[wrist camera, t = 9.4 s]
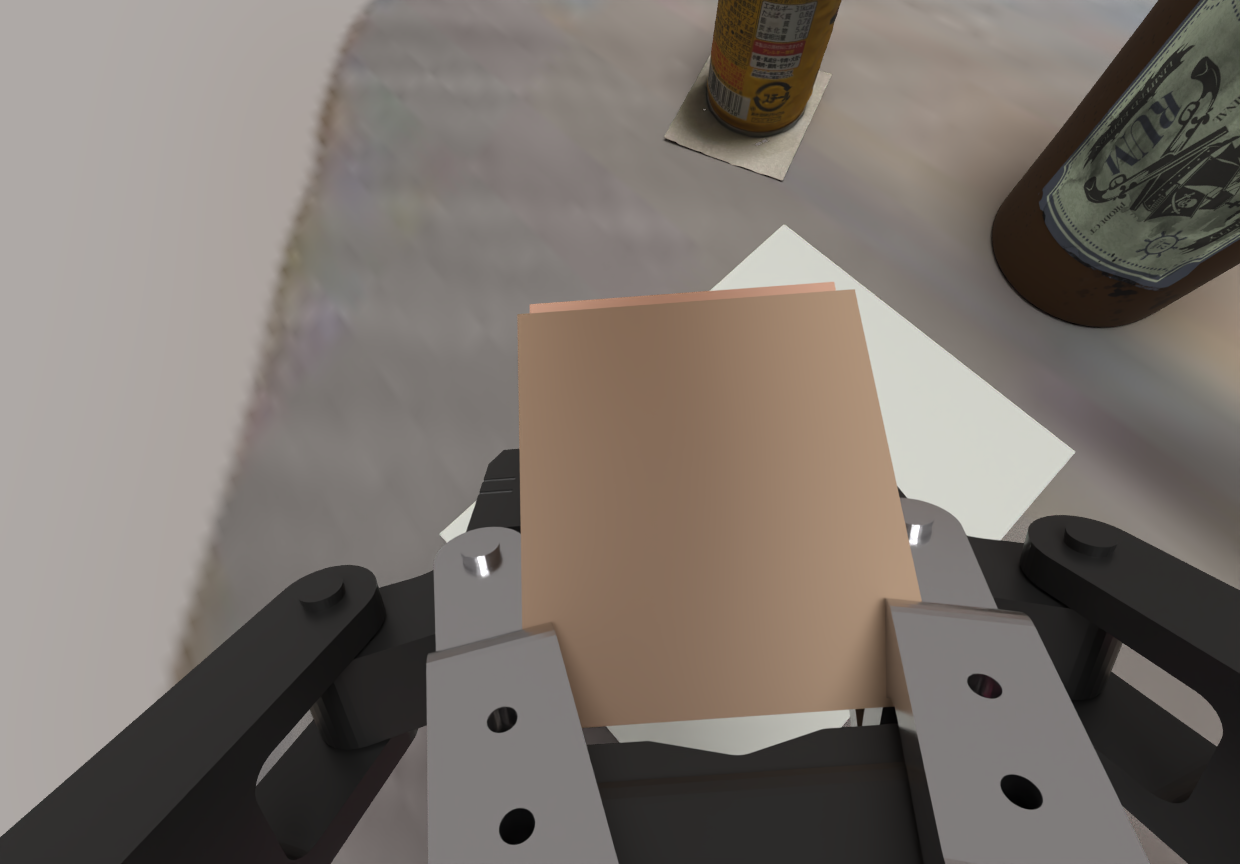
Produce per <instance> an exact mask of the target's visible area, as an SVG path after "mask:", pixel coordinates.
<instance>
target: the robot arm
mask: <svg viewBox="0 0 1240 864" xmlns="http://www.w3.org/2000/svg"><path fill="white" fill-rule="evenodd" d="M897 488H898V493H899V497H900V502H901V507H902V511H903V516H904V521H905V525H906V530H907V535H908V539H909V544H910V548H911V553H912V558H913V562H914V567H915V572H916V576H917V581H918V586H919V590H920V595H921V600H922V601H912V600H902V599H892V598H885V657H886V698H889V699H892V701H893V703H894V707H879V708H864V709H850V710H849V712H850V721H851V727H841V728H826V729H821V730H818V731H815V732H812V733H809V734H806V735H803V736H800V737H797V738H794V739H791V740H788V741H785V742H782V743H779V744H776V745H773V746H770V747H767V748H764V749H761V750H758V751H755V752H752V753H749V754H745V755H730V754H724V753H718V752H712V751H706V750H700V749H694V748H688V747H682V746H676V745H670V744H664V743H658V742H653V741H639V742H624V743H610V744H595V745H586V742H585V739H584V735H583V731H582V728H581V724H580V720H579V717H578V713H577V709H576V706H575V702H574V698H573V695H572V691H571V687H570V684H569V680H568V676H567V673H566V669H565V665H564V662H563V658H562V654H561V651H560V647H559V643H558V640H557V636H556V632H555V629H554V626H553V623H552V622H548V623H544V624H540V625H536V626H532V627H528V628H525V629H522V582H521V515H520V449H512V450H503V451H502V452H501V453H500V454H499V455H498V456H497V457H496V458H495V459H494V460H493V461H492V462H491V463H489V465H488V468H487V471H486V474H485V477H484V482H483V483H482V486H481V489H480V495H478V498H477V501H476V504H475V507H474V510H473V513H472V516H471V518H470V521H469V524H468V527H467V530H466V532H465V533H463V534H461V535H459V536H457V537H455V538H453V539H452V540H450V541H449V542H447V543H446V544H445V545H444V546H443V547H442V548H441V549H440V550H439V552H438V553H437V555H436V557H435V559H434V570H433V571H431V572H429V573H426V574H424V575H421V576H418V577H415V578H412V579H409V580H405V581H402V582H398V583H395V584H391V585H388V586H384V587H381V588H379V587H378V584H377V581H376V577H375V576H374V574H373V573H372V572H371V571H370V570H368V569H366V568H364V567H360V566H354V565H341V566H334V567H329V568H325V569H322V570H319V571H316V572H314V573H311V574H309V575H307V576H305V577H303V578H301V579H299V580H297V581H296V582H294V583H293V584H291V585H290V586H289V587H287V588H286V589H285V590H284V591H282V592H281V593H280V594H279V595H278V596H277V597H276V598H274V599H273V600H272V601H271V602H270V603H269V604H268V605H266V606H265V607H264V608H263V609H262V610H261V611H260V612H258V613H257V614H256V615H255V616H254V617H253V618H251V619H250V620H249V621H248V622H247V623H246V624H245V625H243V626H242V627H241V628H240V629H239V630H238V631H237V632H235V633H234V634H233V635H232V636H231V637H230V638H229V639H227V640H226V641H225V642H224V643H223V644H222V645H220V646H219V647H218V648H217V649H216V650H215V651H214V652H212V653H211V654H210V655H209V656H208V657H207V658H206V659H204V660H203V661H202V662H201V663H200V664H199V665H198V666H196V667H195V668H194V669H193V670H192V671H191V672H189V673H188V674H187V675H186V676H185V677H184V678H183V679H181V680H180V681H179V682H178V683H177V684H176V685H175V686H173V687H172V688H171V689H170V690H169V691H168V692H167V693H165V694H164V695H163V696H162V697H161V698H160V699H158V700H157V701H156V702H155V703H154V704H153V705H152V706H151V707H149V708H148V709H147V710H146V711H145V712H144V713H142V714H141V715H140V716H139V717H138V718H137V719H136V720H134V721H133V722H132V723H131V724H130V725H129V726H128V727H126V728H125V729H124V730H123V731H122V732H121V733H119V734H118V735H117V736H116V737H115V738H114V739H113V740H111V741H110V742H109V743H108V744H107V745H106V746H105V747H104V748H102V749H101V750H100V751H99V752H98V753H96V754H95V755H94V756H93V757H92V758H91V759H90V760H89V761H88V762H86V763H85V764H84V765H83V766H82V767H80V768H79V769H78V770H77V771H76V772H75V773H74V774H72V775H71V776H70V777H69V778H68V779H67V780H65V781H64V782H63V783H62V784H61V785H60V786H59V787H58V788H56V789H55V790H54V791H53V792H52V793H51V794H49V795H48V796H47V797H46V798H45V799H44V800H43V801H41V802H40V803H39V804H38V805H37V806H36V807H34V808H33V809H32V810H31V811H30V812H29V813H28V814H26V815H25V816H24V817H23V818H22V819H21V820H20V821H18V822H17V823H16V824H15V825H14V826H13V827H12V828H10V830H8V831H7V832H6V833H5V834H3V835H2V836H1V837H0V864H331V862H332V861H333V859H334V858H335V856H336V855H337V853H338V852H339V850H340V849H341V847H342V846H343V844H344V843H345V841H346V840H347V838H348V837H349V835H350V834H351V832H352V831H353V829H354V828H355V826H356V825H357V823H358V822H359V820H360V819H361V817H362V816H363V814H364V813H365V811H366V810H367V808H368V807H369V805H370V804H371V802H372V801H373V799H374V798H375V796H376V795H377V794H378V792H379V791H380V789H381V788H382V786H383V785H384V783H385V782H386V780H387V779H388V777H389V776H390V774H391V773H392V771H393V770H394V768H395V767H396V765H397V764H398V762H399V761H400V759H401V758H402V756H403V755H404V753H405V752H406V750H407V749H408V747H409V746H410V744H411V743H412V741H413V739H414V738H415V736H416V733H417V730H418V728H420V727H423V726H426V725H427V792H428V864H1150V862H1149V860H1148V858H1147V856H1146V854H1145V852H1144V850H1143V848H1142V846H1141V844H1140V842H1139V840H1138V837H1137V835H1136V833H1135V831H1134V829H1133V827H1132V825H1131V823H1130V821H1129V819H1128V817H1127V815H1126V813H1125V811H1124V809H1123V807H1124V808H1125V809H1127V810H1128V811H1129V812H1130V813H1131V814H1132V815H1133V816H1135V817H1136V818H1137V819H1138V820H1139V821H1140V822H1141V823H1143V824H1144V825H1145V826H1146V827H1147V828H1148V829H1149V830H1151V831H1152V832H1153V833H1154V834H1155V835H1156V836H1157V837H1158V838H1160V839H1161V840H1162V841H1163V842H1164V843H1165V844H1166V845H1168V846H1169V847H1170V848H1171V849H1172V850H1173V851H1174V852H1176V853H1177V854H1178V855H1179V856H1180V857H1181V858H1182V859H1184V860H1185V861H1186V862H1187V863H1188V864H1240V590H1238V589H1236V588H1234V587H1232V586H1230V585H1228V584H1226V583H1224V582H1222V581H1220V580H1218V579H1216V578H1215V577H1213V576H1211V575H1209V574H1207V573H1205V572H1203V571H1201V570H1199V569H1197V568H1195V567H1193V566H1191V565H1189V564H1187V563H1185V562H1183V561H1181V560H1179V559H1177V558H1175V557H1174V556H1172V555H1170V554H1168V553H1166V552H1164V551H1162V550H1160V549H1158V548H1156V547H1154V546H1152V545H1150V544H1148V543H1146V542H1144V541H1142V540H1140V539H1138V538H1136V537H1134V536H1133V535H1131V534H1129V533H1127V532H1125V531H1123V530H1120V529H1118V528H1116V527H1114V526H1111V525H1109V524H1106V523H1103V522H1100V521H1096V520H1092V519H1088V518H1083V517H1077V516H1067V515H1054V516H1047V517H1043V518H1040V519H1037V520H1035V521H1034V522H1033V523H1031V525H1030V526H1029V528H1028V532H1027V535H1026V539H1025V542H1024V543H1017V542H1009V541H1001V540H992V539H984V538H977V537H971V536H967V535H966V533H965V531H964V529H963V527H962V525H961V523H960V522H959V521H958V520H957V518H956V517H954V516H953V515H952V514H951V513H949V512H948V511H946V510H944V509H942V508H940V507H938V506H936V505H933V504H931V503H928V502H924V501H921V500H916V499H910V498H907V497H906V496H905V495H904V493H903V492H902V491H901V490H900V488H899V487H898V486H897ZM1122 643H1124V644H1125V645H1127V646H1128V647H1130V648H1131V649H1133V650H1134V651H1136V652H1137V653H1139V654H1140V655H1142V656H1143V657H1145V658H1146V659H1148V660H1149V661H1151V662H1152V663H1154V664H1155V665H1157V666H1158V667H1160V668H1162V669H1163V670H1165V671H1166V672H1168V673H1169V674H1171V675H1172V676H1174V677H1175V678H1177V679H1178V680H1180V681H1181V682H1183V683H1184V684H1186V685H1187V686H1189V687H1190V688H1192V689H1193V690H1195V691H1196V692H1197V693H1199V694H1200V695H1201V696H1202V697H1204V698H1205V699H1206V700H1207V701H1208V702H1209V703H1210V704H1211V706H1212V707H1213V708H1214V710H1215V711H1216V712H1217V714H1218V716H1219V718H1220V720H1221V723H1222V727H1223V736H1222V739H1221V741H1220V743H1219V745H1218V746H1217V747H1216V746H1215V745H1214V744H1212V743H1211V742H1209V741H1208V740H1207V739H1205V738H1204V737H1202V736H1201V735H1200V734H1198V733H1197V732H1195V731H1194V730H1193V729H1191V728H1190V727H1188V726H1187V725H1186V724H1184V723H1183V722H1181V721H1180V720H1178V719H1177V718H1176V717H1174V716H1173V715H1171V714H1170V713H1169V712H1167V711H1166V710H1164V709H1163V708H1162V707H1160V706H1159V705H1157V704H1156V703H1155V702H1153V701H1152V700H1150V699H1149V698H1148V697H1146V696H1145V695H1143V694H1142V693H1141V692H1139V691H1138V690H1136V689H1135V688H1133V687H1132V686H1131V685H1129V684H1128V683H1126V682H1125V681H1124V680H1122V679H1121V678H1119V677H1118V676H1117V675H1115V674H1114V673H1112V672H1111V671H1112V668H1113V666H1114V663H1115V661H1116V658H1117V656H1118V653H1119V651H1120V648H1121V646H1122ZM309 709H310V712H311V714H312V716H313V721H312V722H311V723H310V724H309V725H308V726H307V728H306V729H305V730H304V731H303V732H302V733H301V735H300V736H299V737H298V738H297V739H296V741H295V742H294V743H293V744H292V745H291V746H290V748H289V749H288V750H287V751H286V752H285V753H284V755H283V756H282V757H281V758H280V759H279V760H278V762H277V763H276V764H275V765H274V766H273V767H272V769H271V770H270V771H269V772H268V773H267V774H266V776H265V777H264V778H263V779H262V780H261V781H260V783H259V784H258V785H257V786H256V782H257V778H258V775H259V773H260V770H261V768H262V766H263V764H264V762H265V761H266V759H267V758H268V756H269V755H270V754H271V753H272V751H273V750H274V749H275V748H276V747H277V746H278V745H279V743H280V742H281V741H282V740H283V739H284V738H285V737H286V735H287V734H288V733H289V732H290V731H291V730H292V729H293V727H294V726H295V725H296V724H297V723H298V722H299V721H300V719H301V718H302V717H303V716H304V715H305V714H306V713H307V711H308V710H309ZM1122 806H1123V807H1122Z"/></svg>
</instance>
